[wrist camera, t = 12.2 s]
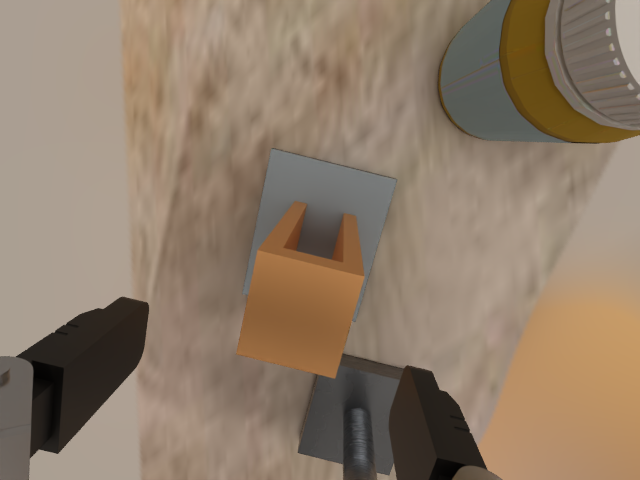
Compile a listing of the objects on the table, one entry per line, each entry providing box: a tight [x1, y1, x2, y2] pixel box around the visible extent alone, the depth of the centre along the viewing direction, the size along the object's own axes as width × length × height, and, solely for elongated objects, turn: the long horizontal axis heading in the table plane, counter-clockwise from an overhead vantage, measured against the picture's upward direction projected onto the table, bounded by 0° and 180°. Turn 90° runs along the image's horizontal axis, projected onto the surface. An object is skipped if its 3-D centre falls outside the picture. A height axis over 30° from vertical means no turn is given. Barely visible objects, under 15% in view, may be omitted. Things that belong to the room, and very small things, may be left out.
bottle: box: [438, 0, 640, 144], centre depth 15 cm, size 7×7×15 cm
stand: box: [298, 354, 404, 480], centre depth 22 cm, size 8×16×14 cm, turn 76°
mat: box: [242, 148, 397, 322], centre depth 25 cm, size 10×8×1 cm
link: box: [236, 201, 365, 379], centre depth 20 cm, size 4×4×11 cm
